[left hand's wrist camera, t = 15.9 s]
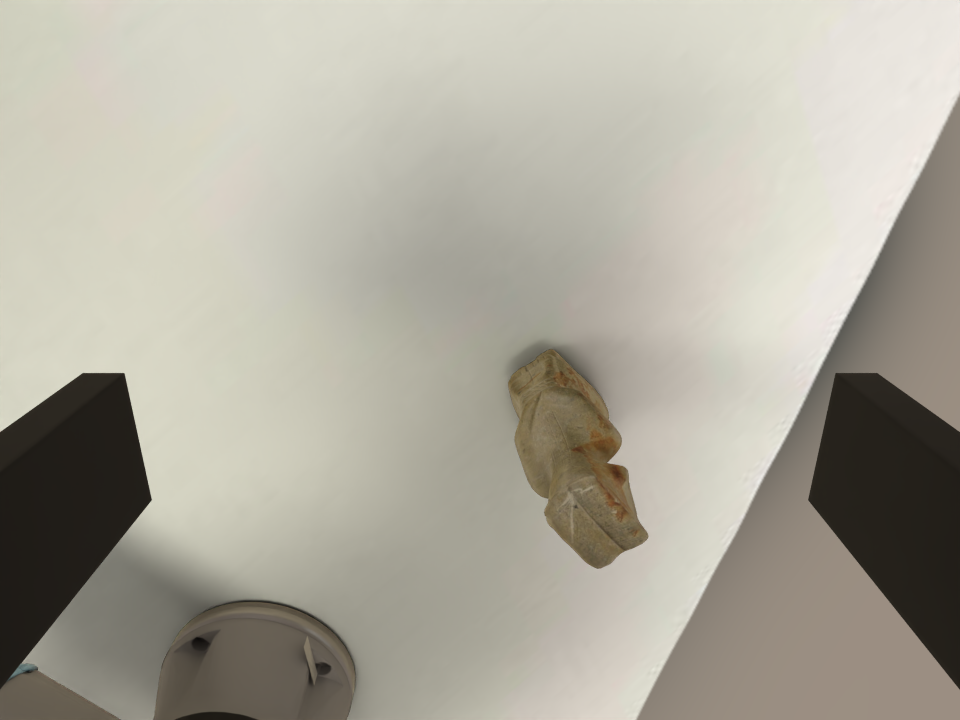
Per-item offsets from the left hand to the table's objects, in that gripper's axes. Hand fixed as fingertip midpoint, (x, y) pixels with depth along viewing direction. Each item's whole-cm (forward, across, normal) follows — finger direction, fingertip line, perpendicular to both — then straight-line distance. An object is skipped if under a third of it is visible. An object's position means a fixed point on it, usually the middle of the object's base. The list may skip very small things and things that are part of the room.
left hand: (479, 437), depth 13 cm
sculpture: (+31, -5, +13) cm, 34 cm away
